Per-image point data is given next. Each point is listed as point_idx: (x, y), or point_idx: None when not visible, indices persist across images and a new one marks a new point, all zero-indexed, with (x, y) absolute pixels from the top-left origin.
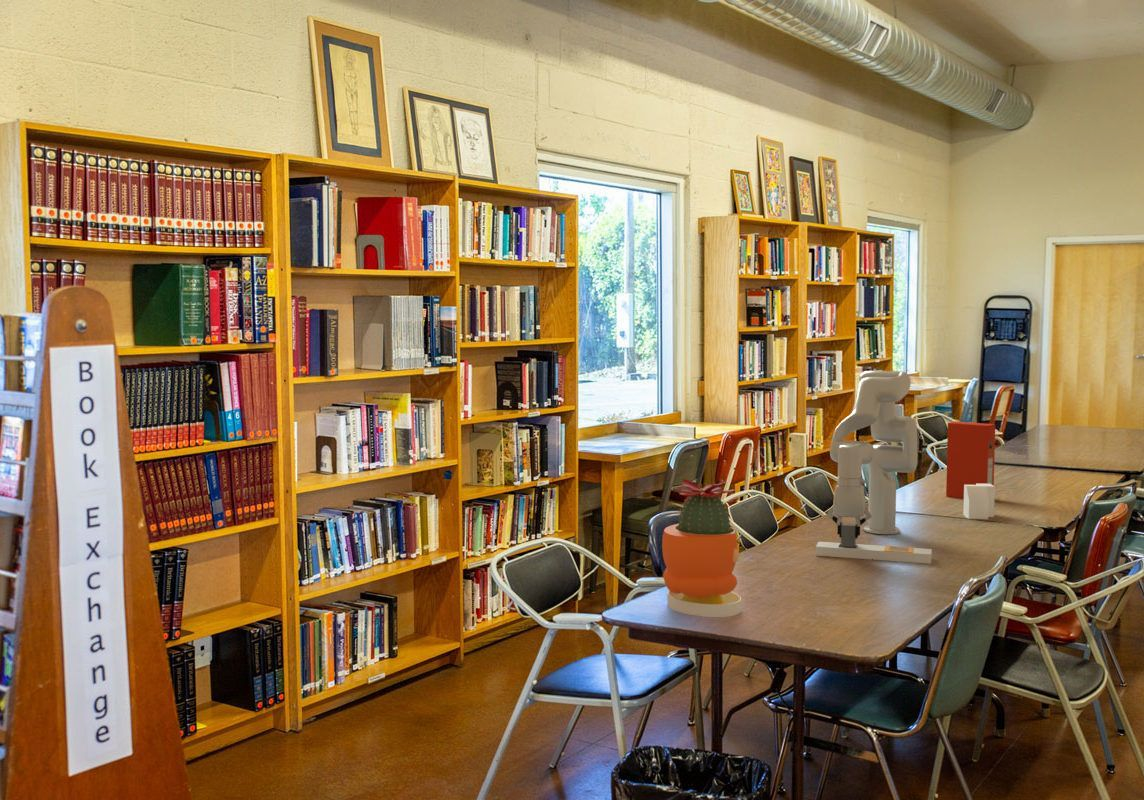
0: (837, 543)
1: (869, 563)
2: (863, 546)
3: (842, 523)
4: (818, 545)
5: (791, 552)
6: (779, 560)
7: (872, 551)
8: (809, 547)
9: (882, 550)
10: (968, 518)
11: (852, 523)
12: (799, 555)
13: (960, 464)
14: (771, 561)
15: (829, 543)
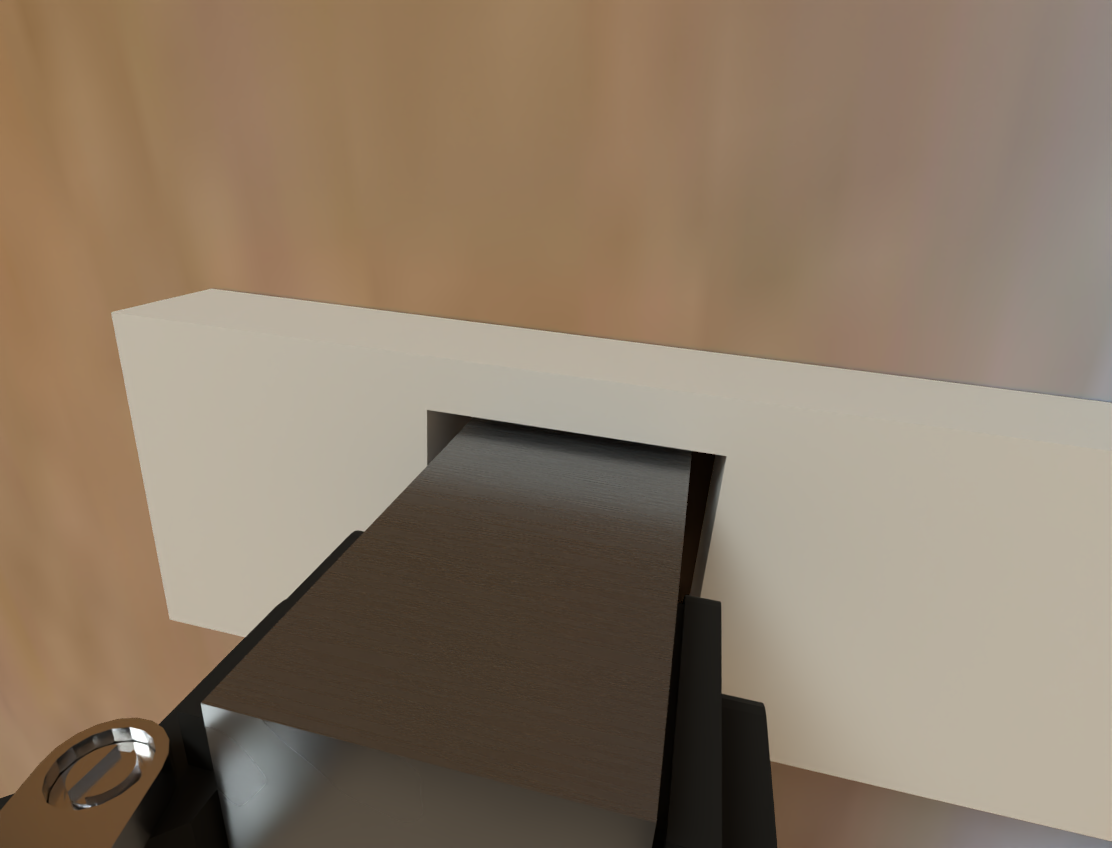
0: (388, 401)
1: (814, 841)
2: (812, 567)
3: (225, 803)
4: (182, 566)
5: (8, 448)
6: (47, 739)
7: (915, 782)
8: (68, 117)
9: (1102, 804)
10: None
11: (516, 825)
12: (114, 565)
13: None
14: (14, 766)
15: (279, 423)
